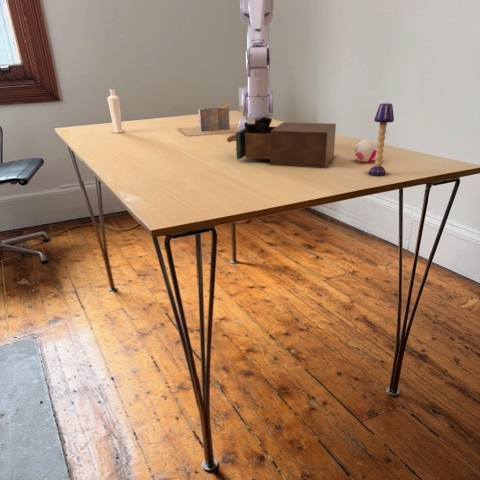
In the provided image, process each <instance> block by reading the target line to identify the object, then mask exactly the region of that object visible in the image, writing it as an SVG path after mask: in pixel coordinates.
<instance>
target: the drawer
mask: <svg viewBox="0 0 480 480" xmlns="http://www.w3.org/2000/svg"><path fill="white" fill-rule="evenodd" d="M275 127H276V126H269V128H268V132H267V133H248V132H247V130H246V128H244V129H242V130H240V131H238V132H235V133H234V134H232V135H230V136H228V137H227V139H226V141H227V142H228V143H231V142H235V146H236V149H235V150H236V152H235V153H236V160H242V159H243V158H245V159H255V160H256V159H258V160H270V134H271V133H270V131H271V130H272V129H274V128H275Z"/></svg>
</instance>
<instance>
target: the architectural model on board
mask: <svg viewBox="0 0 480 480" xmlns="http://www.w3.org/2000/svg"><path fill="white" fill-rule="evenodd" d="M197 110H198V123H199V127H187V128H179V130H180V132H182V133H183V134H184V135H186V136H187V137H191V136H192V137H193V136H204V135H216V134H231V133H236V132H238V125H239V124H230V108H229V105H228V102H227V101H225V102H222V101H220V107H209V108H204V109H200V108H198V109H197Z"/></svg>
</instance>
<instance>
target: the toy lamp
mask: <svg viewBox="0 0 480 480" xmlns="http://www.w3.org/2000/svg"><path fill="white" fill-rule="evenodd" d="M373 121H374V122H376V123H379V126H378V127H379V129H378V136H377V143H376V148H377V150H376V156H375V160H374V166H371V168H370V169H369V170H368V174H369V175H370V176H384V175H386V174H387V172H386V169H385V167H383V166H382V165H383V157H384V156H383V155H384V151H385V150H384V147H385V140H386V133H387V126H388V124H389V123H394V122H395V115H394V108H393V104H392V103H389V102H387V103H386V102H385V103H384V102H383V103H380V104H379V105H378V108H377V110H376V113H375V116H374V120H373Z"/></svg>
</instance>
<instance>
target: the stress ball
mask: <svg viewBox="0 0 480 480" xmlns="http://www.w3.org/2000/svg"><path fill="white" fill-rule="evenodd" d="M376 150H377V144H375V142H374V141H372V140H370V139H363V140H360V141H359V142H358V143H357V144H356V145H355V148H354V154H355V157H356V159H355V160H354V161H355V162H356V161H357V160H359V161H360V162H362V163H368V162H373V161H374V159H375V158H376V155H377V153H376Z"/></svg>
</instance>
